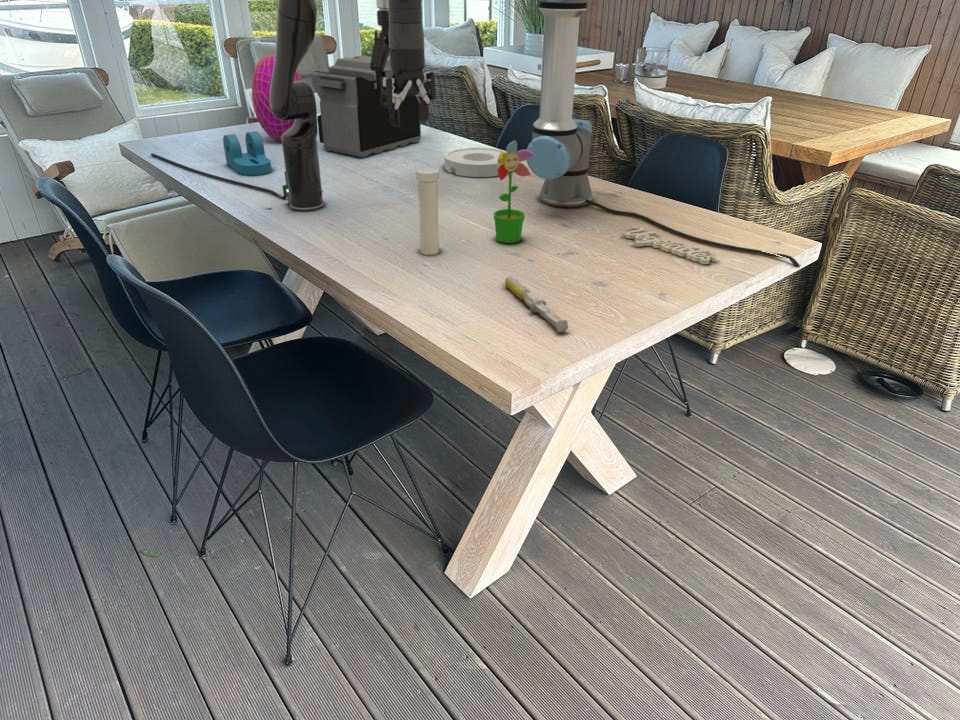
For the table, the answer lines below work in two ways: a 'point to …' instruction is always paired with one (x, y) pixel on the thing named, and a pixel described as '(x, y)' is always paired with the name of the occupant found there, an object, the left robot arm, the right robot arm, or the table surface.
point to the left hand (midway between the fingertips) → (409, 123)
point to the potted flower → (510, 219)
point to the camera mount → (246, 154)
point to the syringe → (535, 304)
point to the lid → (427, 174)
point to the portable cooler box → (360, 110)
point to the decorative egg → (267, 98)
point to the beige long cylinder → (428, 217)
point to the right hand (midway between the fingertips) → (394, 92)
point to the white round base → (473, 162)
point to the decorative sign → (669, 245)
